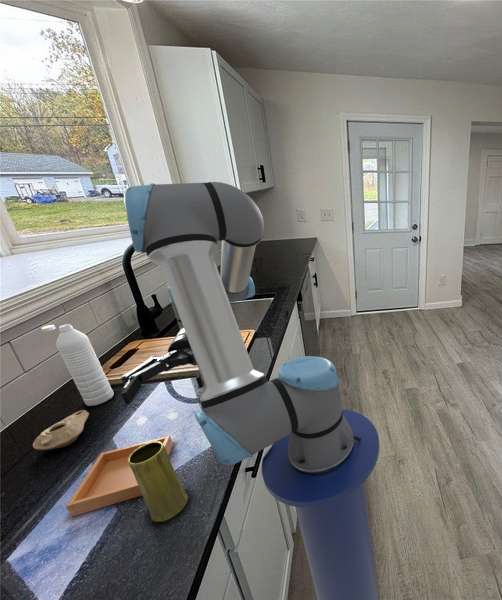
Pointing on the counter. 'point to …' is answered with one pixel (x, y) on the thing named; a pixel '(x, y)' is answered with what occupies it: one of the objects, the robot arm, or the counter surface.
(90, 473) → the wooden tray
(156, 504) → the vase
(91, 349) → the water bottle
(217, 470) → the counter surface
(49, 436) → the pottery oil lamp
